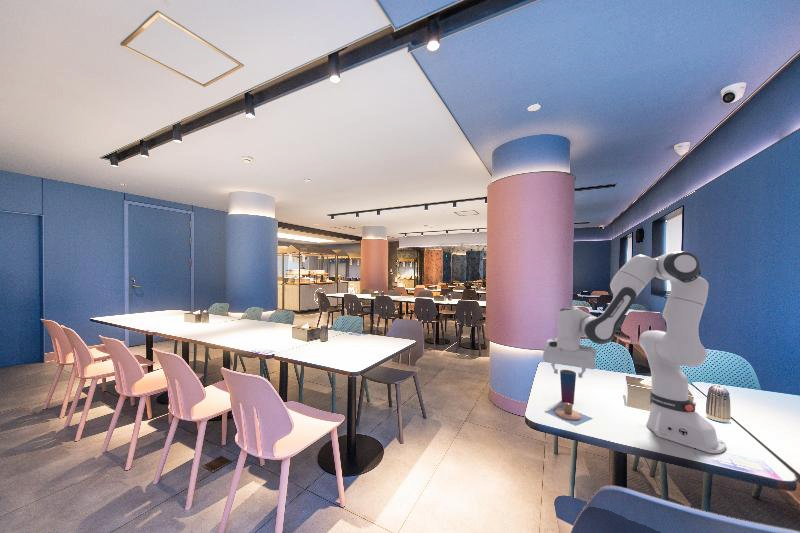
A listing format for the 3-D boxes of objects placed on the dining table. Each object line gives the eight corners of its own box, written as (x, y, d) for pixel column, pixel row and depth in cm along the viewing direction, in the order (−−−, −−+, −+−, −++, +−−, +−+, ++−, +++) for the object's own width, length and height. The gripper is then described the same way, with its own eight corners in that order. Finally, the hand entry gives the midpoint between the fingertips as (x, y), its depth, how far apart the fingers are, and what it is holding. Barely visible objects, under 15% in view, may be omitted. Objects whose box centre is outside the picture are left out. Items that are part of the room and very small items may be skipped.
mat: (593, 419, 130) (593, 418, 130) (575, 426, 124) (575, 425, 124) (561, 406, 142) (561, 405, 142) (544, 412, 136) (544, 411, 136)
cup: (578, 406, 142) (578, 374, 143) (562, 405, 144) (562, 373, 144) (572, 400, 149) (573, 370, 149) (557, 399, 151) (558, 369, 151)
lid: (586, 417, 131) (586, 405, 131) (573, 422, 126) (573, 410, 126) (563, 408, 140) (563, 397, 140) (550, 412, 135) (550, 401, 135)
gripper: (595, 345, 131) (595, 377, 131) (543, 339, 141) (543, 369, 141) (597, 348, 126) (596, 382, 126) (542, 342, 136) (542, 373, 136)
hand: (567, 375), depth 134 cm, fingers open, 8 cm apart
